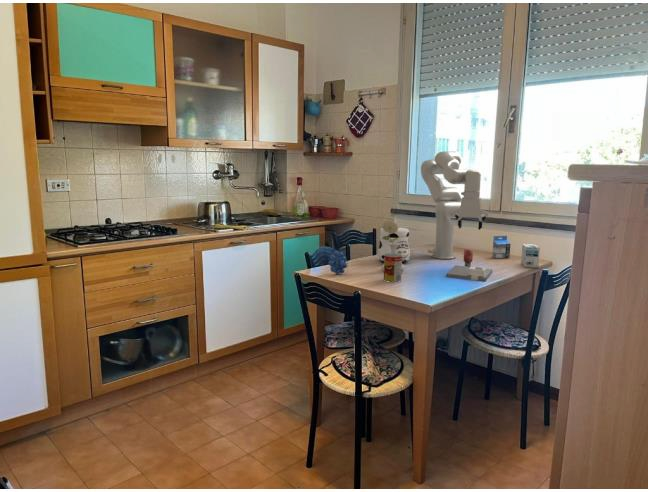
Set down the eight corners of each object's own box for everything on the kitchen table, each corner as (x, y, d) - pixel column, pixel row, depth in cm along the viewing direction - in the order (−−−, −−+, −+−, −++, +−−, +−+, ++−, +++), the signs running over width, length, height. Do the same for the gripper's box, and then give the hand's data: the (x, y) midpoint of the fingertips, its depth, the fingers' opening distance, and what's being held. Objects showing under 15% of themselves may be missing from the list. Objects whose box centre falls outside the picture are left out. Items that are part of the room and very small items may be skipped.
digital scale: (445, 276, 222) (446, 273, 222) (455, 268, 240) (455, 265, 240) (485, 281, 214) (485, 277, 214) (492, 272, 232) (492, 269, 231)
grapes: (335, 278, 219) (335, 253, 217) (325, 275, 224) (325, 251, 222) (352, 274, 227) (353, 249, 224) (342, 271, 231) (343, 248, 229)
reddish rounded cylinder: (462, 267, 242) (463, 250, 240) (464, 265, 246) (465, 248, 244) (471, 268, 240) (472, 251, 238) (472, 266, 244) (473, 249, 242)
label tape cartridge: (495, 258, 263) (497, 237, 261) (491, 257, 267) (493, 236, 265) (509, 258, 265) (511, 236, 263) (505, 256, 269) (507, 235, 267)
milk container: (403, 266, 243) (404, 232, 240) (372, 263, 252) (373, 229, 249) (414, 260, 258) (415, 228, 255) (384, 257, 267) (385, 226, 263)
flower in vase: (409, 270, 234) (410, 220, 230) (396, 274, 226) (397, 223, 222) (387, 266, 243) (388, 218, 239) (374, 270, 235) (375, 220, 231)
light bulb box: (538, 268, 241) (540, 247, 239) (524, 267, 242) (526, 246, 240) (533, 263, 251) (535, 243, 249) (520, 263, 253) (522, 243, 251)
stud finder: (468, 275, 219) (468, 268, 218) (470, 272, 223) (470, 266, 223) (483, 276, 216) (484, 269, 215) (485, 274, 220) (486, 267, 220)
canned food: (389, 277, 220) (390, 252, 218) (404, 280, 216) (405, 254, 213) (380, 280, 214) (380, 255, 212) (395, 283, 210) (396, 257, 207)
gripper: (452, 194, 237) (450, 228, 240) (488, 196, 229) (486, 230, 232) (455, 193, 243) (454, 226, 246) (490, 195, 235) (488, 228, 239)
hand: (469, 228), depth 239 cm, fingers open, 9 cm apart
